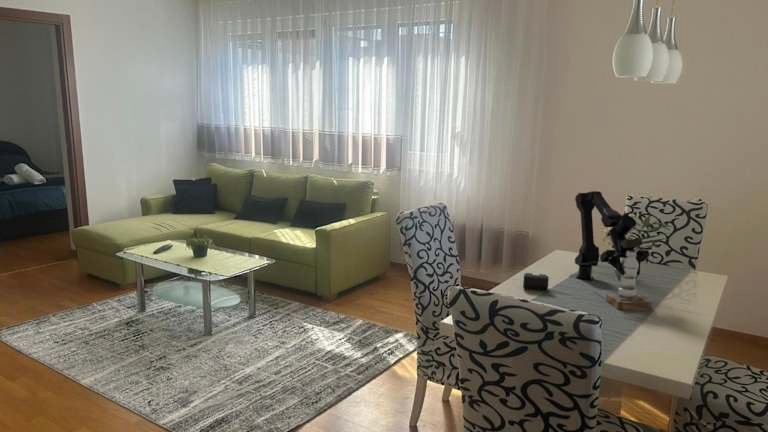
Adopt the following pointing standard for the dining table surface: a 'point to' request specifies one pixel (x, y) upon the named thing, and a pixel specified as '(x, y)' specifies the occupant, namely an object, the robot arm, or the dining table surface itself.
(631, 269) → the plastic bottle
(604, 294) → the felt coaster
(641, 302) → the walnut collar
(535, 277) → the end cap
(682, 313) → the dining table surface
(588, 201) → the robot arm
